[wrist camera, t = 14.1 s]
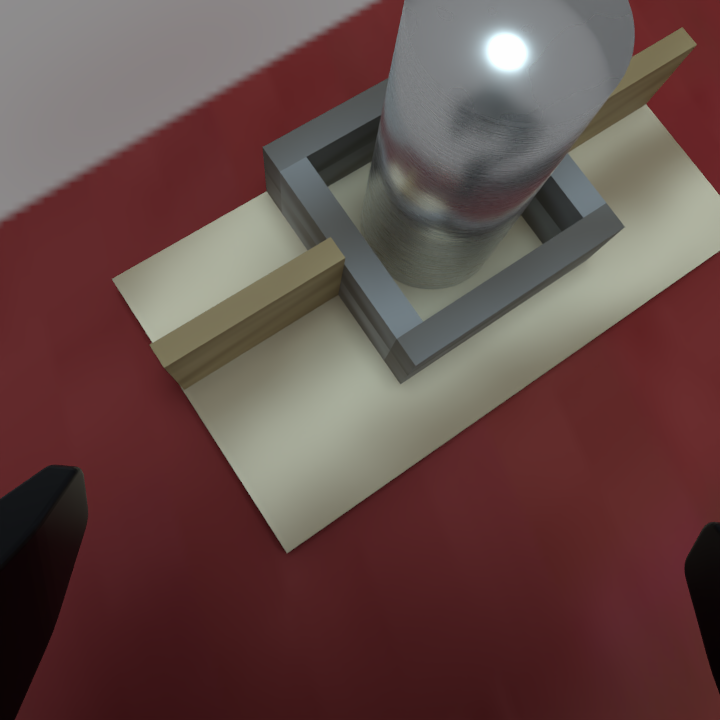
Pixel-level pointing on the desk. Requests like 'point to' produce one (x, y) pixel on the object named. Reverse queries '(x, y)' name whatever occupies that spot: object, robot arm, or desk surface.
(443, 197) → the silver metal cylinder
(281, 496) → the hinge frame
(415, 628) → the desk surface
